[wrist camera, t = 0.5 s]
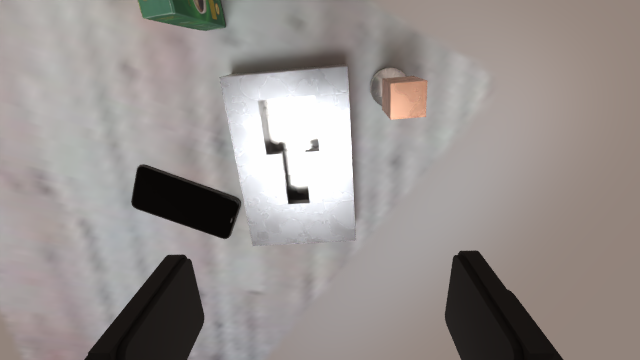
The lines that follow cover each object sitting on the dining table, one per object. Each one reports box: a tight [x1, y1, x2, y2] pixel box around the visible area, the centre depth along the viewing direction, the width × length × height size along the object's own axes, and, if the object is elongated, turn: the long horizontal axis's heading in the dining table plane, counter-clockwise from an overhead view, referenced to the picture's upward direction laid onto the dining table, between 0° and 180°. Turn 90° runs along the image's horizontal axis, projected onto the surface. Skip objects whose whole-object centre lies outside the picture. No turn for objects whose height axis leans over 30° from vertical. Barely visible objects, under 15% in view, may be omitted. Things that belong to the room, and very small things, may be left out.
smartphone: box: [131, 165, 241, 239], centre depth 45 cm, size 7×1×15 cm
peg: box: [370, 68, 427, 119], centre depth 33 cm, size 4×4×11 cm
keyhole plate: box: [219, 64, 356, 246], centre depth 40 cm, size 22×14×4 cm, turn 5°
